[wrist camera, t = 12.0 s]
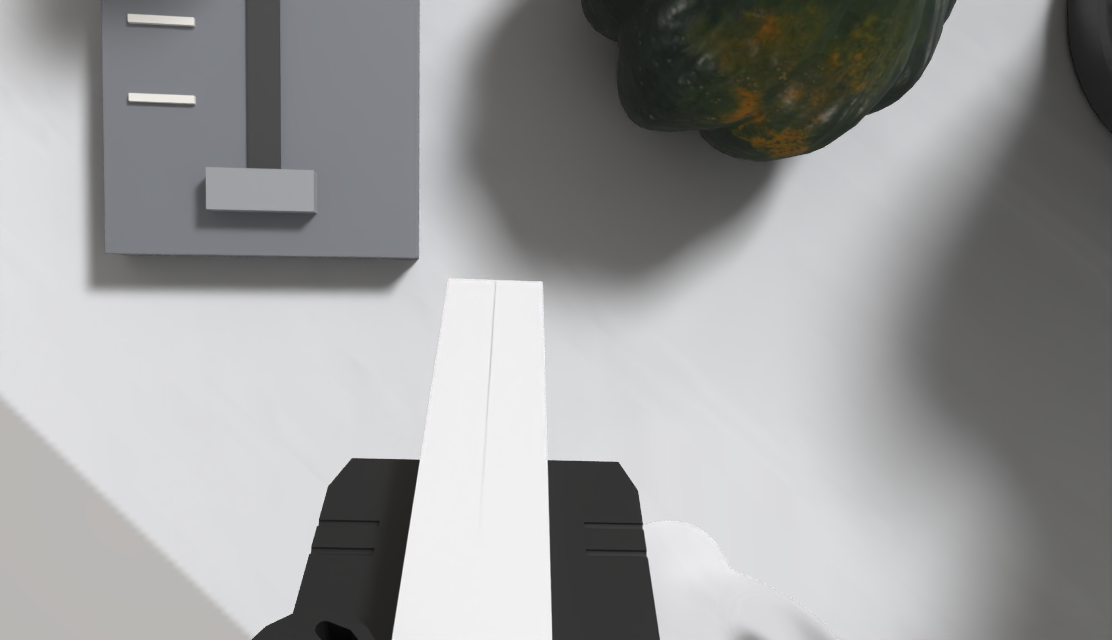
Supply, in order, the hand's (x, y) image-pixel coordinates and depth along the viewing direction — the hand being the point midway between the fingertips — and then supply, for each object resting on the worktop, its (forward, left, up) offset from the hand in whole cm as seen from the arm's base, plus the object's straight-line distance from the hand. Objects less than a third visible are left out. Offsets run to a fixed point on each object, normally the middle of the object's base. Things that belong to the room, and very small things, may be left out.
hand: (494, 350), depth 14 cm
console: (0, -15, -23) cm, 27 cm away
